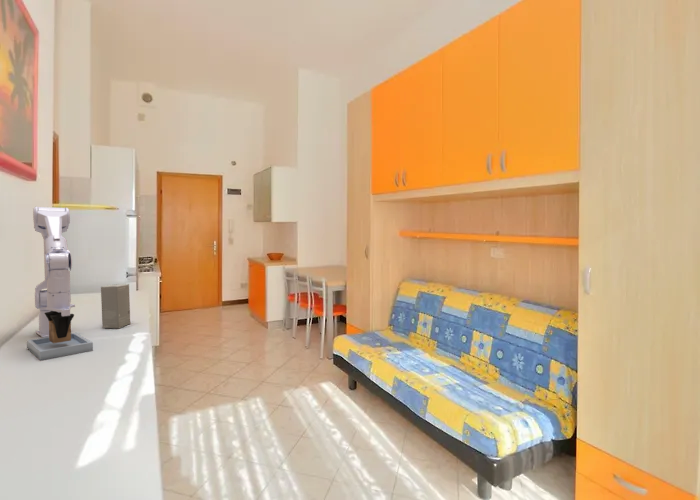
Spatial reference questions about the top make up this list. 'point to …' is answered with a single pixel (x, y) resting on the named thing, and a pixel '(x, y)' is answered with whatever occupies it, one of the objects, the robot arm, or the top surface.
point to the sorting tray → (59, 347)
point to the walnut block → (53, 335)
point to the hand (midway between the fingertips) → (59, 335)
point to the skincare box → (115, 305)
